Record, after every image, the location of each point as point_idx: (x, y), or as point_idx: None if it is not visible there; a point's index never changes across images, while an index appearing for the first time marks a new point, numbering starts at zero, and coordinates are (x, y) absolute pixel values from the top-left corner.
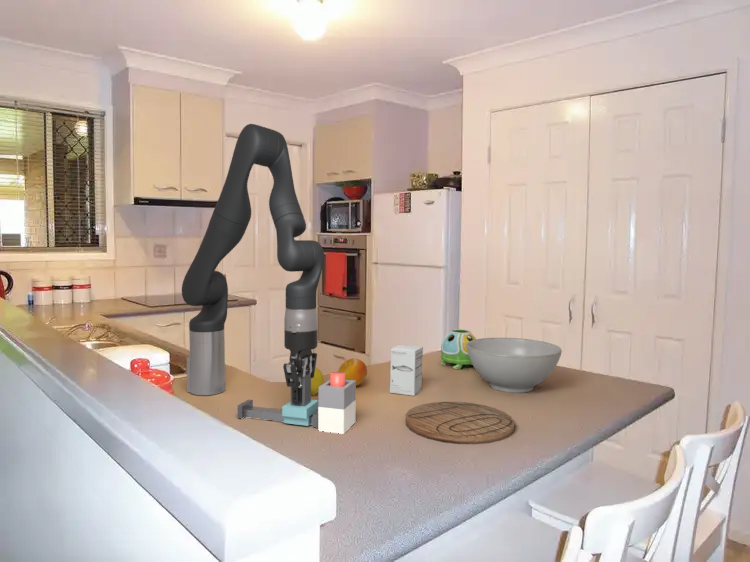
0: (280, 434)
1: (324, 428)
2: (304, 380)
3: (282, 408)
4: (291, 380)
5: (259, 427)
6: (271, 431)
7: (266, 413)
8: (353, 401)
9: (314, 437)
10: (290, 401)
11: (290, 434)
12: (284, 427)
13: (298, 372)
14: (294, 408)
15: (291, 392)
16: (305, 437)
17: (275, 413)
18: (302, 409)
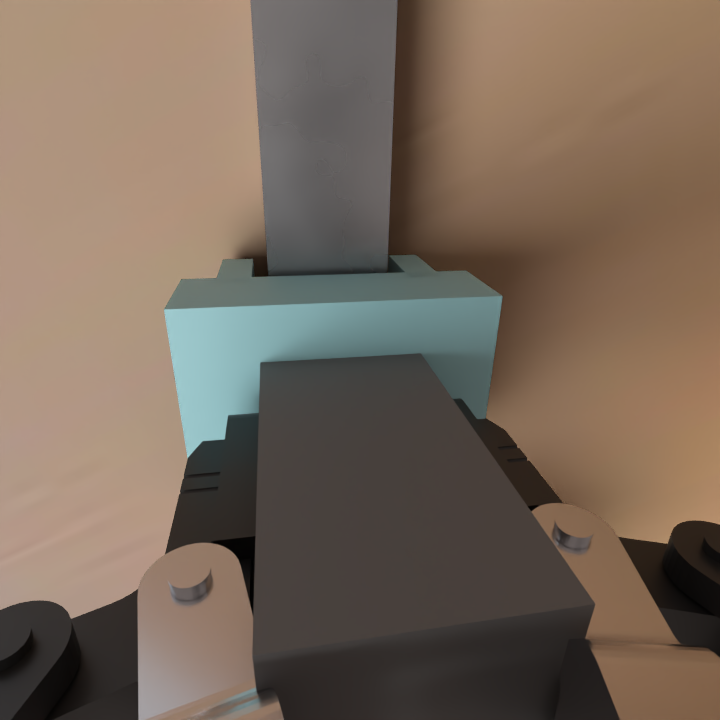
0: (16, 333)
1: None
2: None
3: (167, 304)
4: (138, 685)
5: (55, 67)
6: (31, 233)
7: (252, 29)
8: None
9: (101, 541)
10: (368, 306)
11: (61, 397)
12: (171, 288)
13: (584, 666)
14: (185, 437)
15: (259, 449)
16: (69, 501)
17: (260, 151)
18: None
